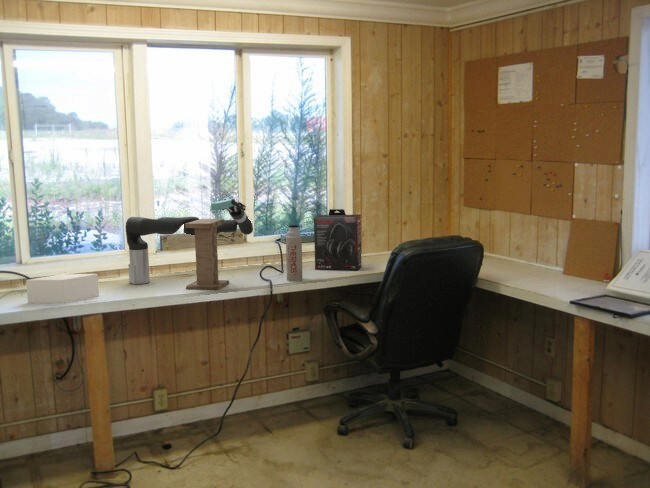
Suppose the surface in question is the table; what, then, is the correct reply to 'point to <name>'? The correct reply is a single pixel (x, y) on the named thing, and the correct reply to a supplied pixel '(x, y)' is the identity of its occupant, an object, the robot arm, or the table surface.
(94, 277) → the block
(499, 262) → the table surface
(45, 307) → the table surface
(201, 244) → the walnut stand
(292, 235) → the thermos bottle
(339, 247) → the headset box
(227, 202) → the teal bar
